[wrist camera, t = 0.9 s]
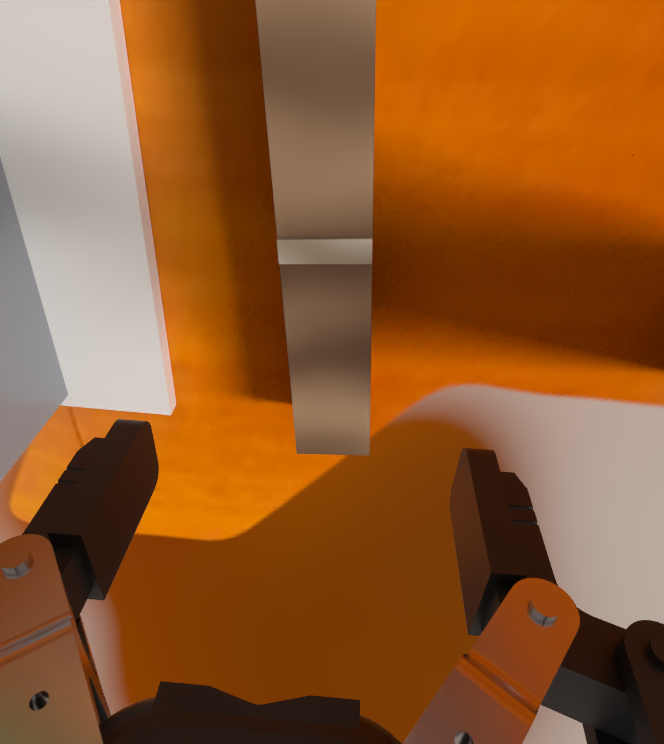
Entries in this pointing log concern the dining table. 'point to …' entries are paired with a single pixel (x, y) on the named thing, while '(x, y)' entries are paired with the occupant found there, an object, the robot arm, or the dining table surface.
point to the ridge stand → (73, 225)
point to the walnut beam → (323, 208)
